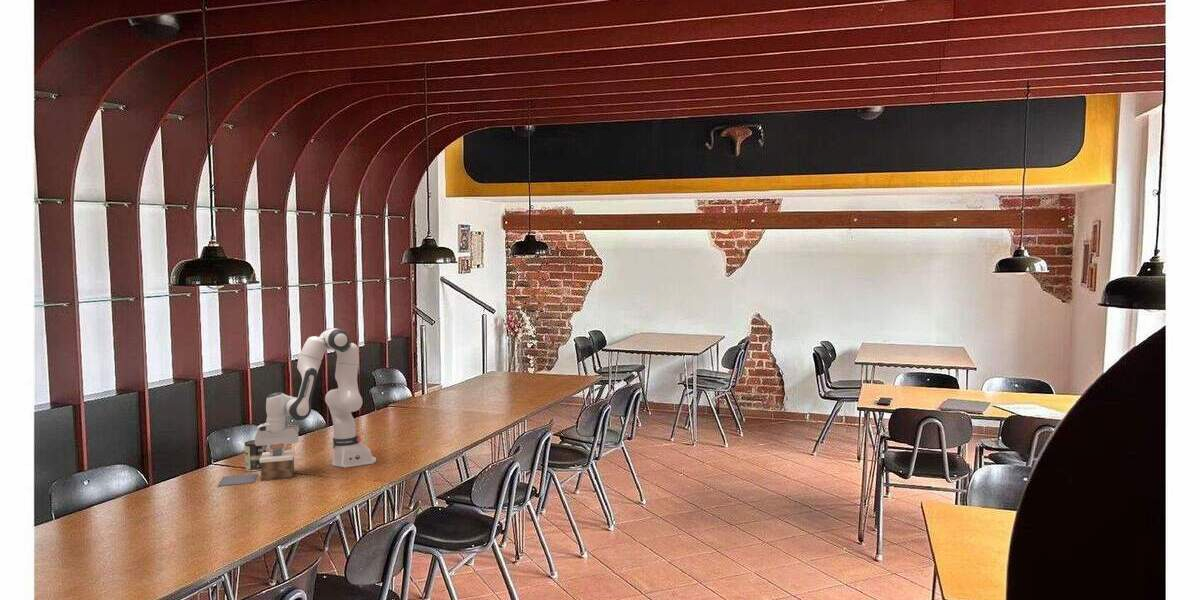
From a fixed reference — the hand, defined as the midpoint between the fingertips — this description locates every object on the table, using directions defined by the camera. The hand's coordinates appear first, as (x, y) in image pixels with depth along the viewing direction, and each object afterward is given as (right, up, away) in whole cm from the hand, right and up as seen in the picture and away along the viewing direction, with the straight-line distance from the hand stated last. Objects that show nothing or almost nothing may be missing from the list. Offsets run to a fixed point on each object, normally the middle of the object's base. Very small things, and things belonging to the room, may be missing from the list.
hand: (277, 452), depth 385 cm
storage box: (0, -11, +1) cm, 11 cm away
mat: (-16, -12, -7) cm, 21 cm away
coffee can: (-17, -11, +14) cm, 25 cm away
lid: (0, -2, 0) cm, 2 cm away
